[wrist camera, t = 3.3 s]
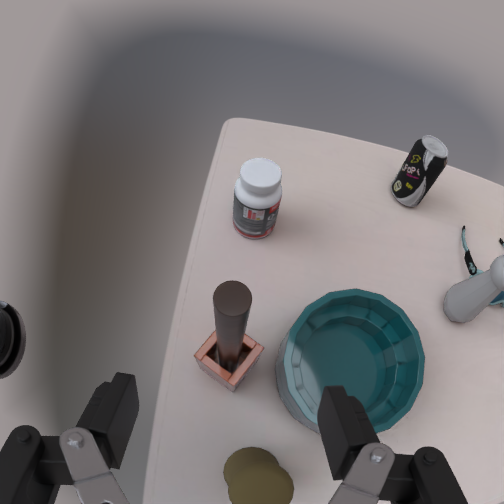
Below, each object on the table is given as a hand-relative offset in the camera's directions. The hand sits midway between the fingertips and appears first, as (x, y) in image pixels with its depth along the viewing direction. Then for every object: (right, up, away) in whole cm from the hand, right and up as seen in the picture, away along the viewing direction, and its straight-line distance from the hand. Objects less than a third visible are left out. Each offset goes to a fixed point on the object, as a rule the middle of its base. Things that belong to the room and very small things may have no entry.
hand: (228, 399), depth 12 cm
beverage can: (+26, +15, +37) cm, 48 cm away
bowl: (+11, -8, +22) cm, 26 cm away
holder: (-2, -6, +22) cm, 23 cm away
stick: (-2, -6, +21) cm, 22 cm away
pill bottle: (+1, +10, +32) cm, 33 cm away
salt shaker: (+30, -2, +27) cm, 41 cm away
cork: (+1, -17, +16) cm, 24 cm away
